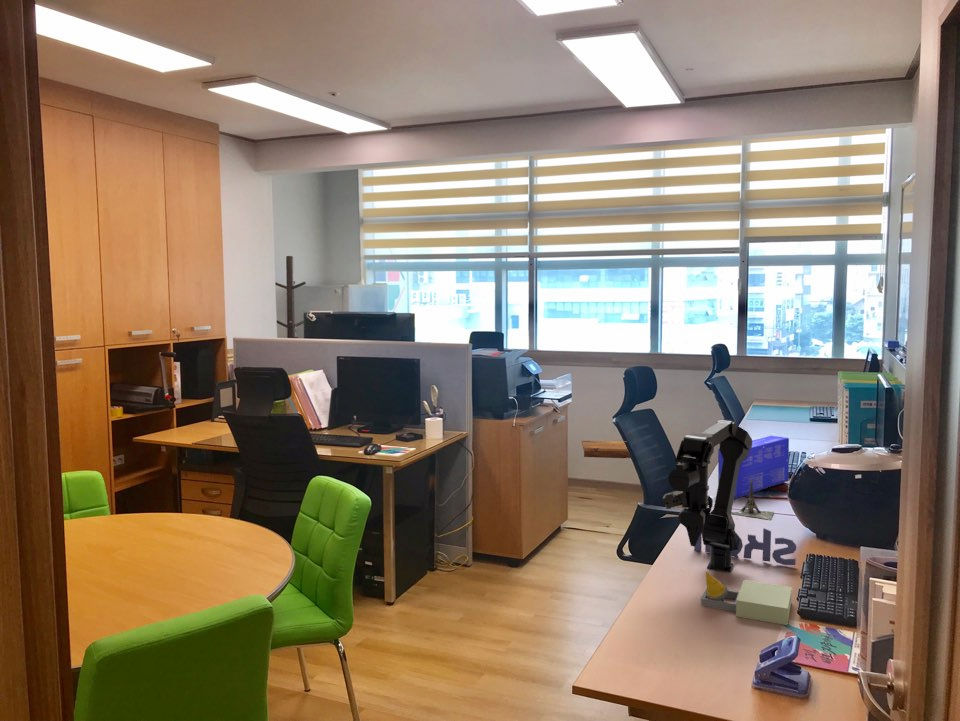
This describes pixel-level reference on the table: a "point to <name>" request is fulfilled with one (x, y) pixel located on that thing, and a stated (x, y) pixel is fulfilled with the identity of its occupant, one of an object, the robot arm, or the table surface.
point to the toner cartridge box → (762, 465)
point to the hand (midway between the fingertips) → (695, 540)
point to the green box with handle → (757, 602)
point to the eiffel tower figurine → (752, 506)
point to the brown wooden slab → (605, 449)
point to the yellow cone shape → (715, 588)
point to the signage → (760, 548)
